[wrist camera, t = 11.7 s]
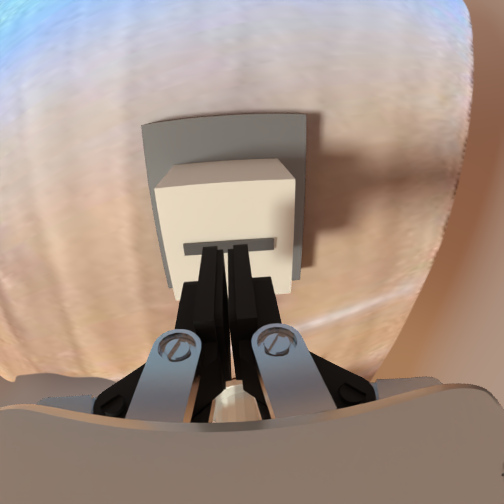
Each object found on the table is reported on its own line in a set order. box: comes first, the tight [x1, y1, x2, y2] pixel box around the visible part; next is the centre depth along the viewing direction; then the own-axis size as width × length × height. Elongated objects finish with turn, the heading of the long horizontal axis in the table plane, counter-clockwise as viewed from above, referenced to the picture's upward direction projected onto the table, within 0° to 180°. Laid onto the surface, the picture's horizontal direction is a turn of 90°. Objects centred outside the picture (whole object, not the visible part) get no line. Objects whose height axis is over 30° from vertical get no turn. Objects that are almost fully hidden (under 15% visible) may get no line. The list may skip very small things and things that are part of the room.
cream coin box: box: [154, 158, 295, 300], centre depth 16 cm, size 6×6×5 cm
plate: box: [141, 113, 306, 288], centre depth 19 cm, size 12×10×2 cm
